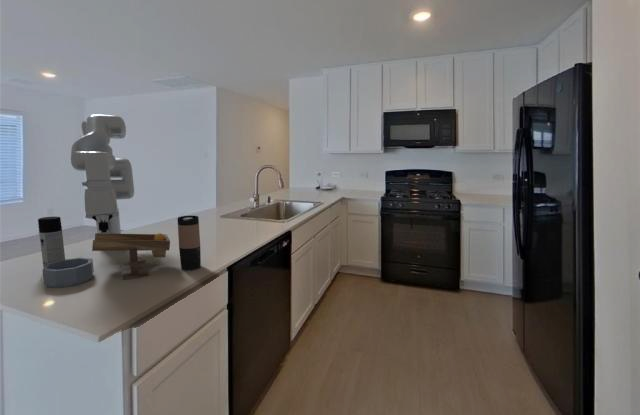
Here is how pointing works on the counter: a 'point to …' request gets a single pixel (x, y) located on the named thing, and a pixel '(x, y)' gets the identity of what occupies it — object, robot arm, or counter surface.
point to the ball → (159, 237)
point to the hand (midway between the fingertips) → (104, 231)
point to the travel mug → (189, 242)
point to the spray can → (51, 239)
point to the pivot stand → (134, 267)
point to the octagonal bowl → (68, 272)
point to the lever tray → (131, 243)
